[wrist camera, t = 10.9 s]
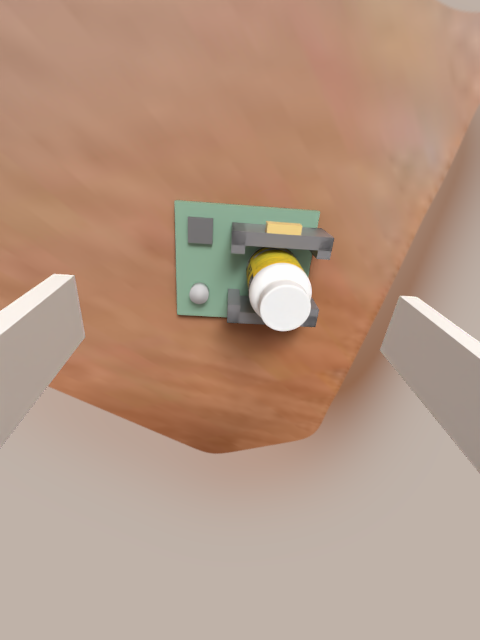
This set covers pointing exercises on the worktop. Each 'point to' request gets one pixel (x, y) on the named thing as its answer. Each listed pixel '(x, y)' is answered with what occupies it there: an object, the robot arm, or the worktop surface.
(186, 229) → the board
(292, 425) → the worktop surface
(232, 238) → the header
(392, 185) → the worktop surface
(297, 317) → the supplement bottle
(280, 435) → the worktop surface
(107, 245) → the worktop surface
